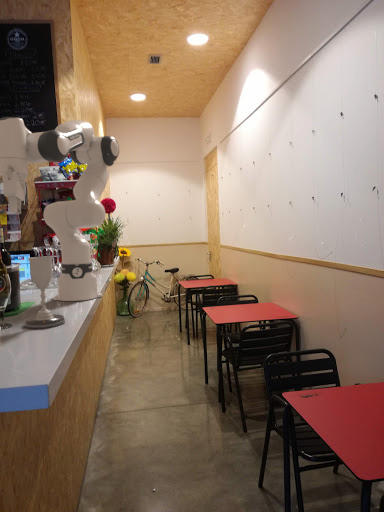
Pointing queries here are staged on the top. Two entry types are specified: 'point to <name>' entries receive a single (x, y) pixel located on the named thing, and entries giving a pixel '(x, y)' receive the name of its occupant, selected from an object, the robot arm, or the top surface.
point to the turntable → (44, 322)
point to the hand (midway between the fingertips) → (15, 213)
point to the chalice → (42, 281)
